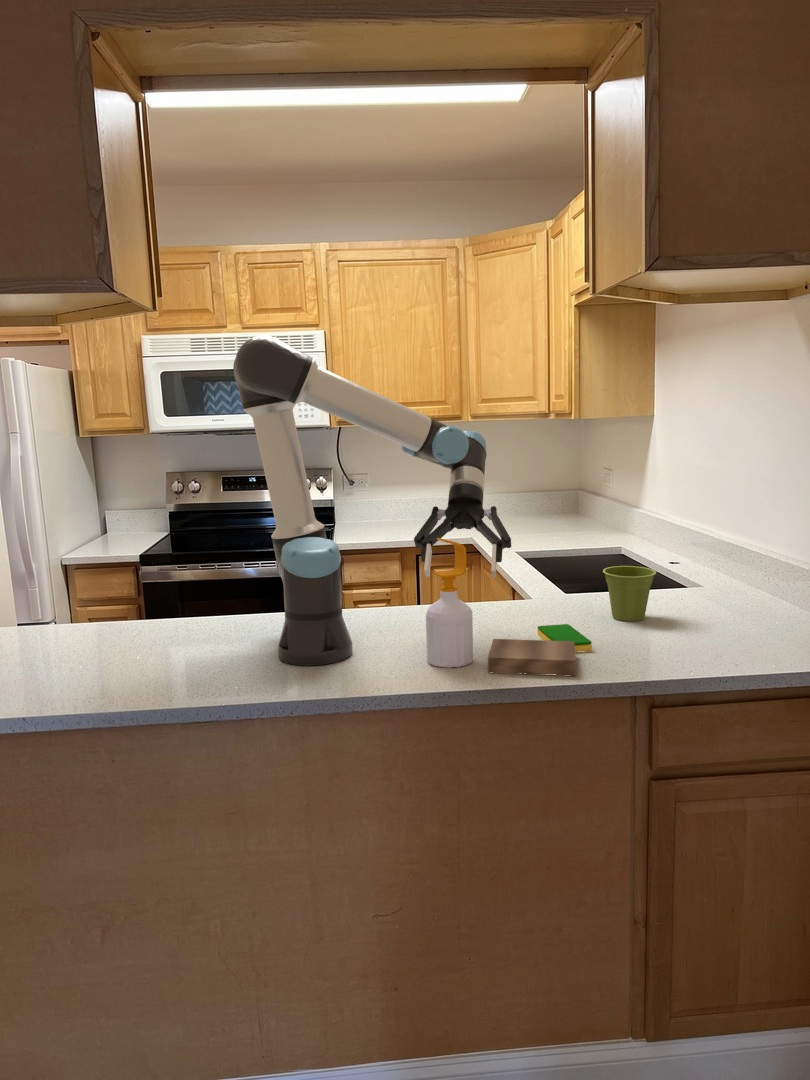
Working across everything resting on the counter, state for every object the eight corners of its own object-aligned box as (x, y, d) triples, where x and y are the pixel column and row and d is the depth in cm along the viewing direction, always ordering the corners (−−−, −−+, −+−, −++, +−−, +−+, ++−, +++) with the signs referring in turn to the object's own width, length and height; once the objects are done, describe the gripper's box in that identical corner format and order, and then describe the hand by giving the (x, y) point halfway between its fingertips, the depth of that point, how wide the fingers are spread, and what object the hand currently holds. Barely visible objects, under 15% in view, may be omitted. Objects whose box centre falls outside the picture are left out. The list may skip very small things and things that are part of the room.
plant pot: (591, 617, 175) (592, 570, 174) (622, 609, 183) (623, 563, 181) (634, 628, 166) (635, 578, 164) (665, 618, 173) (666, 570, 171)
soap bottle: (419, 658, 149) (416, 536, 145) (460, 651, 153) (458, 533, 149) (439, 671, 141) (436, 543, 137) (481, 664, 145) (480, 539, 141)
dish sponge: (558, 655, 150) (558, 644, 149) (536, 636, 163) (536, 625, 163) (592, 653, 151) (592, 641, 150) (568, 634, 164) (568, 623, 164)
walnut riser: (488, 672, 139) (487, 657, 139) (493, 653, 151) (493, 638, 151) (575, 676, 136) (575, 660, 136) (574, 655, 148) (574, 641, 147)
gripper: (524, 502, 164) (522, 584, 152) (412, 503, 169) (402, 582, 157) (523, 480, 158) (521, 564, 146) (407, 481, 163) (396, 563, 151)
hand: (459, 574), depth 151 cm, fingers open, 13 cm apart
